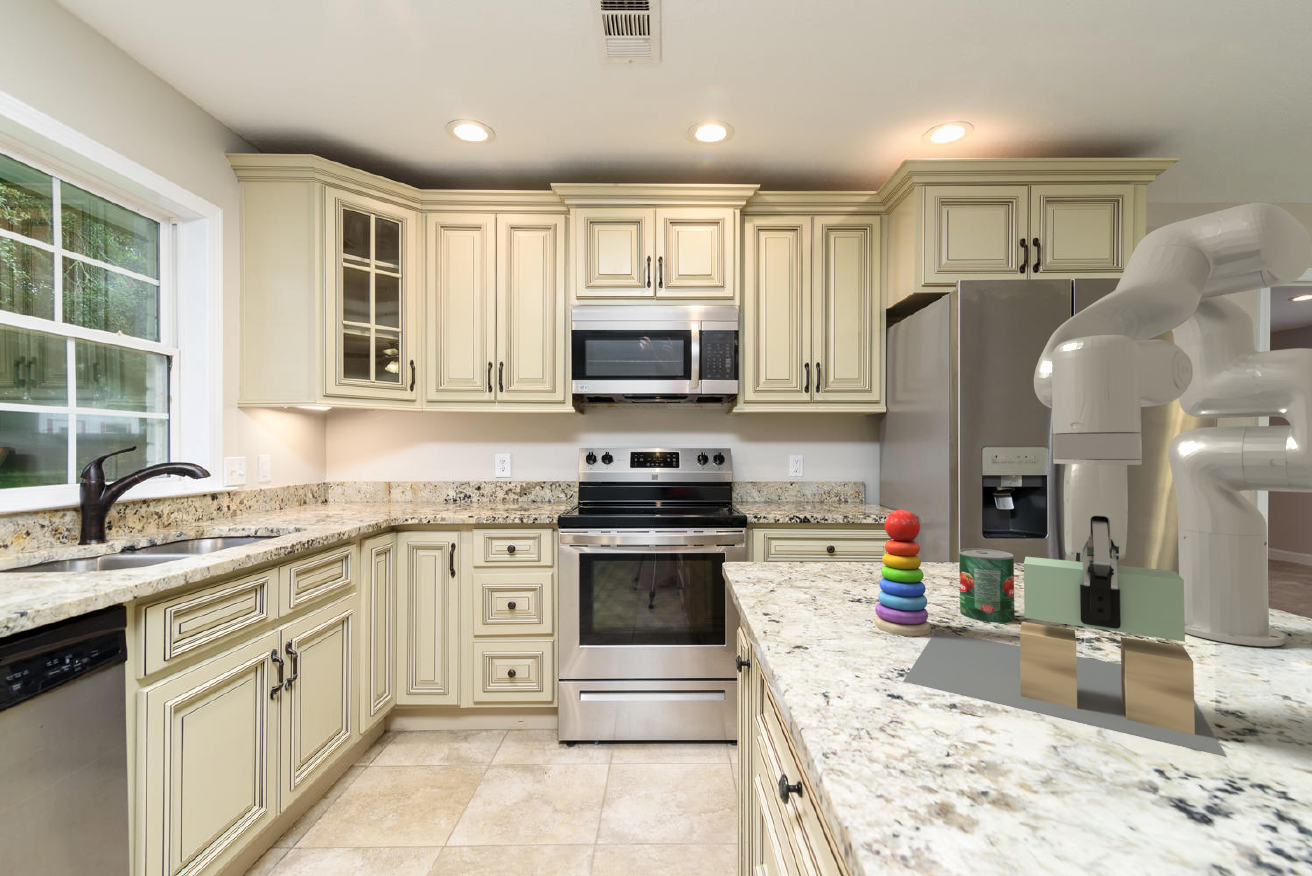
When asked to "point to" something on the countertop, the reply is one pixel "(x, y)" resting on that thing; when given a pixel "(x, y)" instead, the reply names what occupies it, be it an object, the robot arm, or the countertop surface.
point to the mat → (998, 680)
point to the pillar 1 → (1048, 664)
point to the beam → (1143, 597)
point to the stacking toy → (902, 580)
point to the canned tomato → (987, 585)
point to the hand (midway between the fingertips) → (1098, 617)
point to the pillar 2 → (1157, 684)
